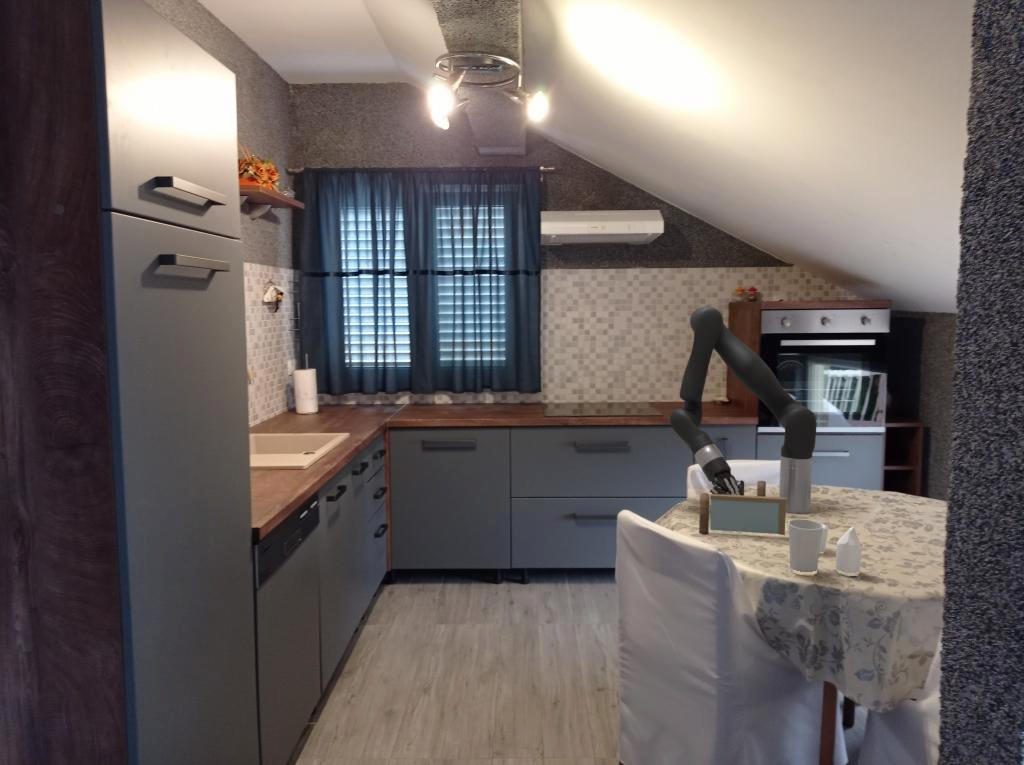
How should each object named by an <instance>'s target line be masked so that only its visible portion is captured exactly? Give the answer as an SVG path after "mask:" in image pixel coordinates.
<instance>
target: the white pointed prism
mask: <svg viewBox="0 0 1024 765" xmlns="http://www.w3.org/2000/svg"><path fill="white" fill-rule="evenodd" d="M862 549H863V546H862V542H861V540H860V538H859V537H858V534H857V532H856V528H855V526H854V525H852V526H851V527H850V528H848V529H847V530H846V531H845V533H844V534H843V536H841V537H840V538H839V539H838V540H837V543H836V555H835V567H834V568H836V569H837V570H839V571H842V572H846V573H856V572H859V571H860V572H861V565H862V562H861V561H862V552H863V551H862ZM860 572H859V573H860Z"/></svg>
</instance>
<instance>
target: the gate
mask: <svg viewBox="0 0 1024 765" xmlns="http://www.w3.org/2000/svg"><path fill="white" fill-rule="evenodd" d="M709 500H710V520H709V530H710V531H718V532H719V531H721V532H723V531H724V532H741V533H752V534H753V533H755V534H772V535H778V536H779V535H782V536H785V535H786V504H787V499H786V498H783V497H778V496H765V497H763V496H757V495H744V496H743V495H723V494H712V493H710V494H709Z"/></svg>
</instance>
